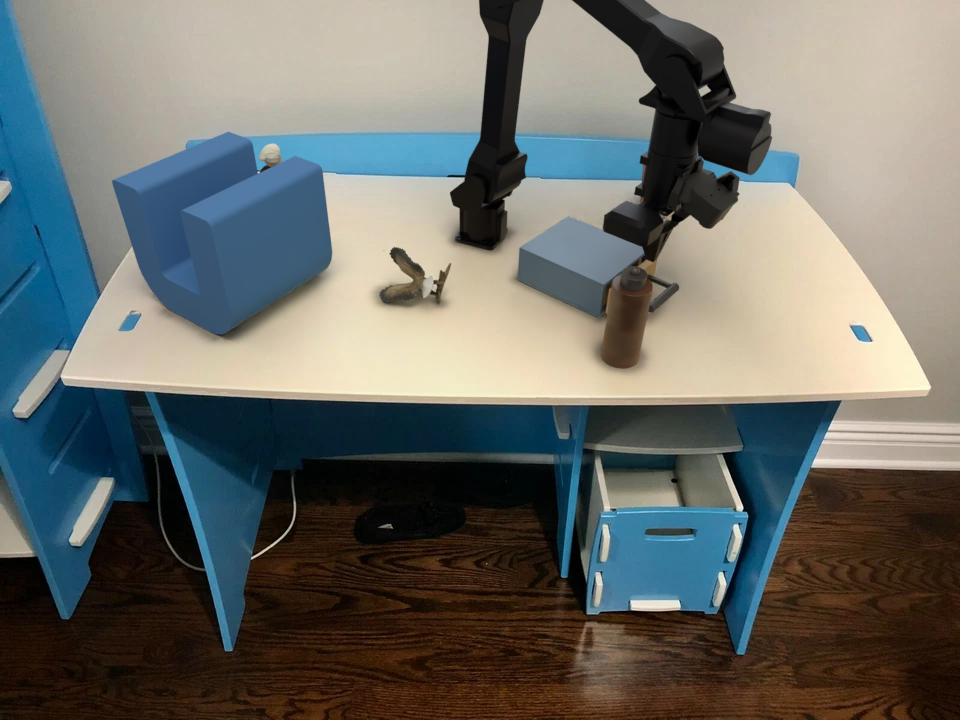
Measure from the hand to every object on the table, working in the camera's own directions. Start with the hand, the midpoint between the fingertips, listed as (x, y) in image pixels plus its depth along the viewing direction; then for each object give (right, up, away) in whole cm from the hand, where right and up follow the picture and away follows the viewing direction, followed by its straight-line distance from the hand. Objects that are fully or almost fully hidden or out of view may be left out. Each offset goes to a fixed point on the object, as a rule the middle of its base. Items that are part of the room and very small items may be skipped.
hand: (651, 260), depth 100 cm
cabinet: (-8, -2, +10) cm, 13 cm away
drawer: (-5, -3, +7) cm, 9 cm away
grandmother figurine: (-54, +9, +22) cm, 59 cm away
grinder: (-5, -13, -3) cm, 14 cm away
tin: (+4, +9, +24) cm, 26 cm away
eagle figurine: (-32, -4, +6) cm, 33 cm away
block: (-56, -4, +6) cm, 56 cm away
